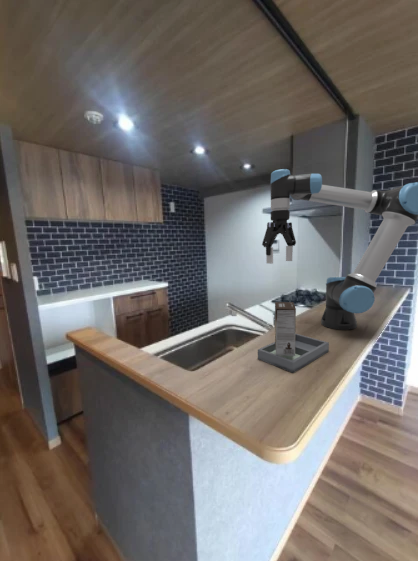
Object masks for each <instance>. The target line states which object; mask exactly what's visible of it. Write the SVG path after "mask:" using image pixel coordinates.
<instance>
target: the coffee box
mask: <svg viewBox="0 0 418 561" xmlns="http://www.w3.org/2000/svg"><path fill="white" fill-rule="evenodd" d="M296 318H297V308H296V306H295V303H294V301H287V302H286V301H275V302H274V342H275V348H276V355H283V356H295V333H296V328H297V326H296V322H297V319H296Z"/></svg>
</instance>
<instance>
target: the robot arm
mask: <svg viewBox="0 0 418 561" xmlns="http://www.w3.org/2000/svg"><path fill="white" fill-rule="evenodd" d="M291 200H293V201H300V200H302V201H306V202H307V201H309V202H314V203H321V204H327V205H333V206H338V207H339V206H340V207H346V208H352V209H357V210H364V212H365V213H366V214H372V215H378V216H381V217H382V218H383V220H382V222H381V223H380V225H379V226H378V229H377V230H376V232H375V233H374V235H373V237H372V239H371V240H370V242H369V244H368V246H367V248H366V250H365V251H364V253H363V255H362V257H361V259H360V260H359V262H358V264H357V266H356V267H355V269H354V271H353V272H352V273H349V274H347V275H346V276H337V277H336V276H329V277H327V278H326V283H325V309H324V310H323V311H324V312H323V313H322V317H321V321H320V323H321V325H322V326H324V327H325V328H326V327H327V328H329V329H333V330H340V331H341V330H342V331H346V330H353V329H356V328H357V327H358V326H357V325H358V323H357V322H358V321H357V319H356V315H355V314H362V313H365V312H367V311H369V310H370V309H371V308H372V307H373V305H374V303H375V299H376V298H375V294H374V293H375V291H376V289H377V283H376V281H377V279H378V278H379V276H380V274H381V272H382V270H383V269H384V267H385V266H386V264H387V262H388V261H389V260H390V257H391V256H392V254H393V252H394V250H395V249H396V247H397V245H398V244H399V242H400V241H401V239H402V237H403V235H404V233H405V232H406V230H407V228H408V227H410V226H413V225H415V224H416V223H417V221H418V181H417V182H409V183H406V184H405V185H402V186H399V187H395V188H392V189H389V190H378V189H377V190H376V189H374V190H372V191H366V190H361V189H360V190H359V189H355V188H354V189H352V188H347V187H339V186H332V185H327V184H323V177H322V175H321V174H320V173H306V174H304V173H303V174H291V171H290V170H289V169H287V168H282V169H281V168H280V169H276V170H274V171H272V172H271V173H270V210H271V211H270V222H267V224H266V230H265V234H264V237H263V240H262V244H261V245H262V246H263V248H265V255H266V258H265V259H266V264H271V265H274V246H273V245H274V243H275V241H276V238H277V237H278V235H282V237H283V239H284V242H285V243H286V245H285V262H293V253H294V252H293V248H294V246H296V244H297V241H296V237H295V233H294V230H293V222H288V220H290V215H291V214H290V210H289V209H291V207H290V206H291V202H290V201H291Z"/></svg>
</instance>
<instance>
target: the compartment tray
mask: <svg viewBox="0 0 418 561" xmlns="http://www.w3.org/2000/svg"><path fill="white" fill-rule="evenodd" d="M329 346H330V345H329V342H328V341H324V340H320V339H317V338H315V337H310V336H307V335H303V334H299V333H296V332H295V356H283V355H276V348H275V341H274V342H271V343H269V344H267V345H265V346H263V347H260V348H258V349H257V360H259V361H262V362H264V363H267V364H269V365H272V366H275V367H276V368H280V369H282V370H285V371H286V372H289V373H291V374H294V373H296V372H297V371H299V370H301V369H302V368H304V367H306V366H307V365H309V364H311V363H312V362H314V361H316V360H318V359H319V358H321V357H322V356H324V355H325V354H327V353H329V352H330V351H329V349H330V347H329Z"/></svg>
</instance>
